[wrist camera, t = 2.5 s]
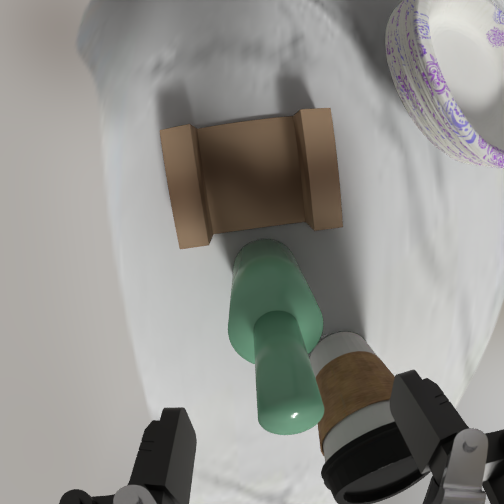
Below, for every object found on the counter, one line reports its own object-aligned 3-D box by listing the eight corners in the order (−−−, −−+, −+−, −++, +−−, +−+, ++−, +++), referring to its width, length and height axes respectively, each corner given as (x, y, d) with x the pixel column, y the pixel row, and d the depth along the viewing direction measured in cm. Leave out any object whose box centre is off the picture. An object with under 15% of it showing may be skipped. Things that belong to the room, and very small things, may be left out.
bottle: (228, 243, 23) (207, 374, 9) (293, 234, 23) (363, 351, 9) (238, 301, 25) (234, 457, 10) (298, 293, 24) (352, 439, 10)
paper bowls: (505, 86, 19) (556, 81, 11) (461, 195, 22) (520, 211, 15) (402, -15, 16) (443, -51, 8) (336, 86, 20) (378, 55, 12)
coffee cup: (388, 318, 26) (473, 431, 11) (365, 385, 28) (415, 497, 14) (303, 318, 25) (353, 464, 11) (289, 389, 28) (313, 520, 13)
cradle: (171, 134, 20) (159, 130, 17) (318, 115, 20) (330, 107, 17) (188, 236, 23) (179, 249, 20) (329, 217, 23) (342, 227, 19)
